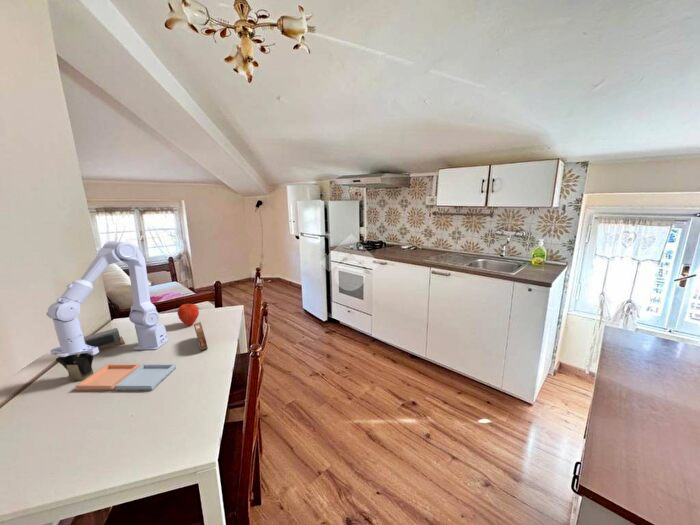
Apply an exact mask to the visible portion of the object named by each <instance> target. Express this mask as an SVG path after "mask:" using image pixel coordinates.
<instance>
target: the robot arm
mask: <svg viewBox="0 0 700 525" xmlns="http://www.w3.org/2000/svg"><path fill="white" fill-rule="evenodd" d="M119 262H122V263H124V264H126V265H127V266H128V272H129V280H130V287H131V293H132V294H131V295H132V302H133V303H132V305H131V306H130V312H129V316H128V317H129V320H130V321H129V322H131V323H133V324H134V329H135V332H136V333H135V334H136V337H137V343H138V345H137V346H135V347H133V350H138V351H139V350H140V351H141V350H147V351H148V350H152V351H153V350H157V349H159V348H160V347H161V346H163V345H164V344H166V343H167V342H168V341H170V339H169V338H168V334H167V329H166V326H165V325H163V324H160V323H158V322H159V321H160V314H159V312H158V310H157V307H156V306H155V304H153V302H152V301H151V295H150V288H149V281H148V280H149V279H148V272H147V265H146V258H145V257H144V255H143V254H142V252H140V250H139V247H138V246H137V245H135V244H134V243H132V242H129V241H115V240H114V241H113V240H110V241H107V242H105V243H104V244H103V246H102V247H101V248H100V249H99V250H98V252H97V254H96V256H95V257H94V259H93V260H92V262H91V263H90V265H89V266H88V268H87V269H86V271H85V272H84V273H83V275H82V277H80V279H77V280H73V281H72V282H71V283H67V285H66V290H65V291H64V292H63V293H62V295H61V296H60V297H57V298H56V299H55V301H56V302H55V303H54V302H53V303H52V304H50V305H49V307H48V308H47V312H46V317H48V318H50V319H52V322H53V326H54V330H55V333H56V337H57V340H58V344H59V346H57V347H54V348H52V349H50V350H49V351H50V355H51V356H56V355H58V357H57V358H55V362H57V363H59V364H60V365H61V366H63V367H64V368H65V369H66V371H67V372H68V370H67V367H66V365H67V364H69V363H71V362H72V361H73V360H74V361H76V362H77V363H78V365H79V366H80V368H81V371H82V373H83V374H84V375H86V374H88V373H89V372H91V367H92V368H93V366H92V364H93V360H94V357H95V355H97V354H98V353H100V352H99V350H98V347H93V346H90V345H86V344H85V340H84V337H85V336H84V333H83V330H82V327H81V326H82V325H81V322H80V319H79V315H80V314H81V307H82V305H83V304H84V302H85V301H86V299H87V298H88V297H89V296H90V294H91V293H92V291H93V290H94V285H93V283H95V281H96V280H97V279H98V278H99V277H100V276H101V274H102V273H103V272H104V271H105V270H106V269H107V268H108V267H109V266H110V265H112V264H116V263H119ZM78 354H80V356H78Z"/></svg>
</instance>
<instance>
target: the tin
mask: <svg viewBox="0 0 700 525" xmlns="http://www.w3.org/2000/svg"><path fill="white" fill-rule="evenodd" d="M193 325H194V326H193V328H194V329H195V334H196V338H197V341H198V346H199V349H200V350H201V351H203V350H206V349H208V344H207V340H206V336H205V332H204V328H203V326H202V322H201V321H199V322H197V323H194V324H193Z"/></svg>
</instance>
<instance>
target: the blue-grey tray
mask: <svg viewBox="0 0 700 525" xmlns="http://www.w3.org/2000/svg"><path fill="white" fill-rule="evenodd" d="M176 369H177V365H176V363H143V364H141V365H140V367H139V368H138V369H136V370H135V371H134V372H132V373H131V374H130V375H129V376H127V377H126V378H125V379H123V380H122V381H121V382H120V383H118V384H117V385H116V386H115V387H116V388H115V390H116V391H117V390H129V391H130V392H133V391H135V392H136V391H137V392H139V391H140V392H143V391H144V392H145V391H146V392H153V391H154V390H155V389H156V388H157V387H158V386H159V385H160V384H162V382H164V380H166V379H167V377H169V376H170V375H171V374H172V373H173V372H174V371H175V370H176ZM129 391H128V392H129Z"/></svg>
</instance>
